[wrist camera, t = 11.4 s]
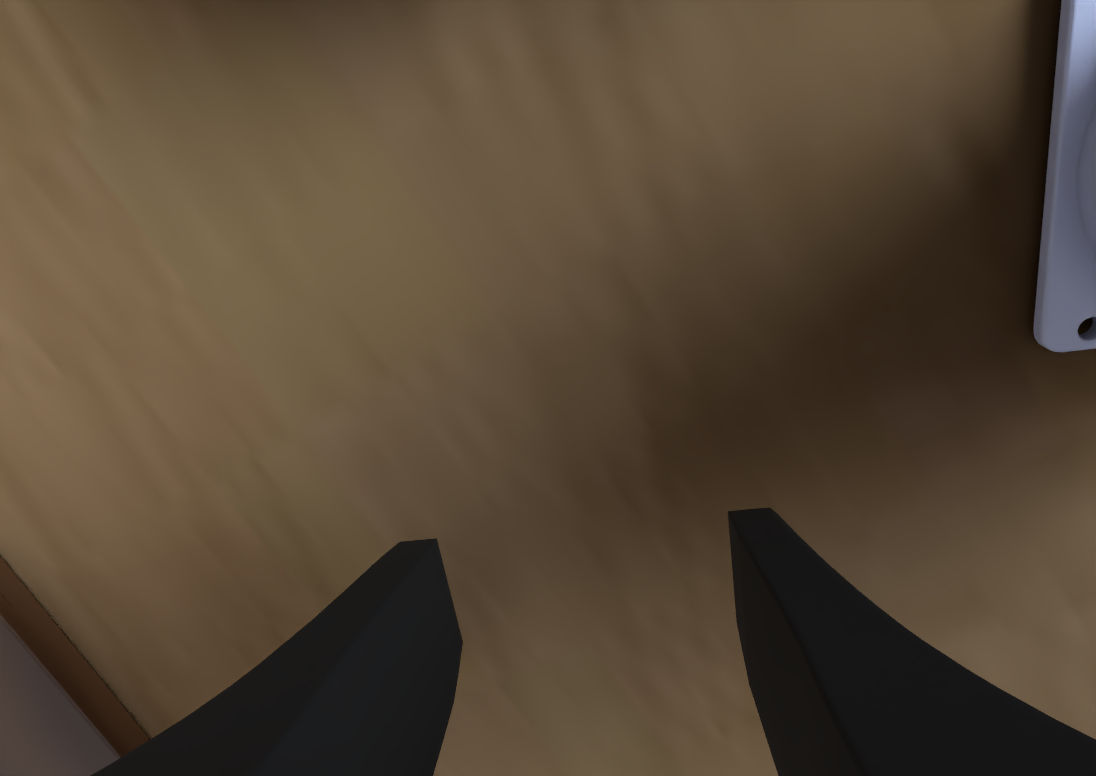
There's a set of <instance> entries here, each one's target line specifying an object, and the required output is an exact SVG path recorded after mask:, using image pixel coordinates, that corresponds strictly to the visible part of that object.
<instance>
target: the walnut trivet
mask: <svg viewBox="0 0 1096 776" xmlns="http://www.w3.org/2000/svg"><path fill="white" fill-rule="evenodd" d="M149 740H150V738H149V737H148V736H147V735H146V733H145V732H144V731H143V730H142V728H141V727H140V726H139V725H138V724H137V722H136V721H135V720H134V719H133V717H132V716H131V715H130V714H129V712H128V711H127V710H126V709H125V708H124V706H123V705H122V704H121V703H120V701H119V700H118V699H117V698H116V697H115V695H114V694H113V693H112V692H111V690H110V689H109V688H108V687H107V686H106V684H105V683H104V682H103V681H102V679H101V678H100V677H99V676H98V674H97V673H96V672H95V671H94V670H93V668H92V667H91V666H90V665H89V663H88V662H87V661H86V660H85V659H84V657H83V656H82V655H81V654H80V652H79V651H78V650H77V649H76V648H75V646H74V645H73V644H72V643H71V641H70V640H69V639H68V638H67V636H66V635H65V634H64V633H63V632H62V630H61V629H60V628H59V627H58V625H57V624H56V623H55V622H54V621H53V619H52V618H51V617H50V616H49V614H48V613H47V612H46V611H45V610H44V608H43V607H42V606H41V605H40V603H39V602H38V601H37V600H36V598H35V597H34V596H33V595H32V594H31V592H30V591H29V590H28V589H27V587H26V586H25V585H24V584H23V583H22V581H21V580H20V579H19V578H18V576H17V575H16V574H15V573H14V572H13V570H12V569H11V568H10V567H9V565H8V564H7V563H6V562H5V560H4V559H3V558H2V557H1V556H0V776H90V775H92V774H94V773H96V772H97V771H99V770H101V769H103V768H104V767H106V766H108V765H110V764H111V763H113V762H115V761H116V760H118V759H119V758H121V757H123V756H124V755H126V754H128V753H129V752H131V751H132V750H134V749H136V748H137V747H139V746H141V745H142V744H144V743H145V742H147V741H149Z"/></svg>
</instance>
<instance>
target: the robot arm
mask: <svg viewBox="0 0 1096 776" xmlns="http://www.w3.org/2000/svg"><path fill="white" fill-rule="evenodd" d="M1091 317H1092V320H1093V323H1092V325H1091V328H1090V329H1089V330H1088V331H1087V332H1085V333H1083V334H1080V335H1078V328H1079V326H1080V324H1081V323H1082V322H1083V321H1084V320H1085V319H1088V318H1091ZM1033 332H1034V338H1035V339H1036V341H1037V342H1038V343H1039V344H1040V345H1042V346H1044V347H1045V348H1047V349H1049V350H1051V351H1053V352H1070V351H1078V350H1087V349H1096V0H1062V1H1061V13H1060V25H1059V36H1058V48H1057V59H1056V71H1055V83H1054V94H1053V106H1052V118H1051V129H1050V141H1049V152H1048V164H1047V176H1046V187H1045V199H1044V211H1043V222H1042V234H1041V245H1040V257H1039V269H1038V280H1037V292H1036V304H1035V315H1034V327H1033ZM728 519H729V531H730V544H731V556H732V569H733V581H734V593H735V606H736V618H737V626H738V631H739V636H740V641H741V646H742V651H743V656H744V661H745V666H746V670H747V675H748V680H749V685H750V688H751V691H752V694H753V697H754V701H755V704H756V707H757V710H758V713H759V716H760V719H761V723H762V726H763V729H764V732H765V735H766V738H767V741H768V744H769V747H770V751H771V754H772V757H773V760H774V763H775V766H776V769H777V772H778V775H779V776H1096V740H1095V739H1093V738H1091V737H1089V736H1087V735H1085V734H1083V733H1081V732H1079V731H1077V730H1075V729H1074V728H1072V727H1070V726H1068V725H1066V724H1064V723H1062V722H1060V721H1058V720H1056V719H1054V718H1052V717H1050V716H1048V715H1046V714H1045V713H1043V712H1041V711H1039V710H1037V709H1036V708H1034V707H1032V706H1030V705H1028V704H1027V703H1025V702H1023V701H1021V700H1019V699H1017V698H1016V697H1014V696H1012V695H1010V694H1008V693H1007V692H1005V691H1003V690H1001V689H999V688H998V687H996V686H994V685H993V684H991V683H989V682H988V681H986V680H984V679H983V678H981V677H979V676H977V675H976V674H974V673H972V672H971V671H969V670H968V669H966V668H964V667H963V666H961V665H960V664H958V663H957V662H955V661H954V660H952V659H951V658H949V657H948V656H946V655H945V654H943V653H942V652H940V651H938V650H937V649H935V648H934V647H932V646H931V645H929V644H928V643H926V642H925V641H923V640H922V639H920V638H919V637H918V636H916V635H915V634H913V633H912V632H910V631H909V630H908V629H906V628H905V627H904V626H902V625H901V624H900V623H898V622H897V621H896V620H895V619H893V618H892V617H891V616H889V615H888V614H887V613H886V612H884V611H883V610H882V609H880V608H879V607H878V606H877V605H875V604H874V603H873V602H872V601H870V600H869V599H868V598H867V597H866V596H864V595H863V594H862V593H861V592H860V591H858V590H857V589H856V588H855V587H854V586H853V585H852V584H850V583H849V582H848V581H847V580H846V579H845V578H844V577H842V576H841V575H840V574H839V573H838V572H837V571H836V570H834V569H833V568H832V567H831V566H830V565H829V564H828V563H827V562H826V561H825V560H823V559H822V558H821V557H820V556H819V555H818V554H817V553H816V552H815V551H814V550H813V549H812V548H811V547H810V546H809V545H808V544H807V543H806V542H805V541H804V540H803V539H802V538H801V537H800V536H799V535H798V534H797V533H796V532H795V531H794V530H793V529H792V528H791V527H790V526H789V525H788V524H787V523H786V522H785V521H784V520H783V519H782V518H781V517H780V516H779V515H778V514H777V513H776V512H775V511H773V510H772V509H771V508H759V509H748V510H737V511H728ZM462 644H463V641H462V637H461V633H460V629H459V625H458V621H457V617H456V613H455V609H454V605H453V601H452V597H451V593H450V589H449V585H448V581H447V577H446V573H445V569H444V566H443V562H442V558H441V554H440V550H439V546H438V542H437V538H436V539H425V540H414V541H404V542H399V543H398V544H397V545H395V546H394V547H393V548H392V549H390V550H389V551H388V552H387V553H386V554H385V555H383V556H382V557H381V558H380V559H379V560H378V561H377V562H376V563H374V564H373V565H372V566H371V567H370V568H369V569H368V570H367V571H366V572H365V573H363V574H362V575H361V576H360V577H359V578H358V579H357V580H356V581H355V582H354V583H353V584H352V585H350V586H349V587H348V588H347V589H346V590H345V591H344V592H343V593H342V594H340V595H339V596H338V597H337V598H336V599H335V600H334V601H333V602H332V603H331V604H329V605H328V606H327V607H326V608H325V609H324V610H323V611H322V612H321V613H319V614H318V615H317V616H316V617H315V618H314V619H313V620H312V621H310V622H309V623H308V624H307V625H306V626H304V627H303V628H302V629H301V630H300V631H298V632H297V633H296V634H295V635H294V636H292V637H291V638H290V639H289V640H288V641H286V642H285V643H284V644H283V645H282V646H280V647H279V648H278V649H277V650H276V651H274V652H273V653H272V654H271V655H270V656H268V657H267V658H266V659H265V660H264V661H262V662H261V663H260V664H259V665H257V666H256V667H255V668H254V669H252V670H251V671H250V672H248V673H247V674H246V675H244V676H243V677H242V678H240V679H239V680H238V681H236V682H235V683H234V684H232V685H231V686H230V687H228V688H227V689H226V690H224V691H223V692H221V693H220V694H218V695H217V696H216V697H214V698H213V699H211V700H210V701H208V702H207V703H206V704H204V705H203V706H201V707H200V708H199V709H197V710H196V711H194V712H193V713H191V714H190V715H188V716H187V717H185V718H184V719H182V720H181V721H179V722H178V723H176V724H174V725H173V726H171V727H170V728H168V729H166V730H165V731H163V732H162V733H160V734H158V735H157V736H155V737H153V738H152V739H150V740H149V741H147V742H145V743H144V744H142V745H141V746H139V747H137V748H136V749H134V750H132V751H131V752H129V753H128V754H126V755H124V756H123V757H121V758H119V759H118V760H116V761H115V762H113V763H111V764H110V765H108V766H106V767H104V768H103V769H101V770H99V771H97V772H96V773H94V774H92V775H90V776H433V774H434V770H435V767H436V763H437V760H438V757H439V753H440V750H441V746H442V743H443V739H444V735H445V732H446V728H447V725H448V721H449V718H450V714H451V710H452V707H453V703H454V697H455V691H456V685H457V679H458V673H459V665H460V658H461V651H462Z"/></svg>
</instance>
